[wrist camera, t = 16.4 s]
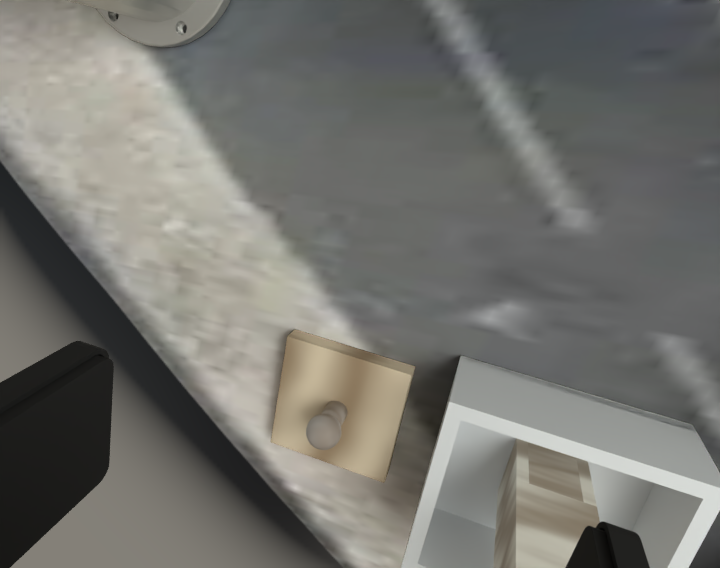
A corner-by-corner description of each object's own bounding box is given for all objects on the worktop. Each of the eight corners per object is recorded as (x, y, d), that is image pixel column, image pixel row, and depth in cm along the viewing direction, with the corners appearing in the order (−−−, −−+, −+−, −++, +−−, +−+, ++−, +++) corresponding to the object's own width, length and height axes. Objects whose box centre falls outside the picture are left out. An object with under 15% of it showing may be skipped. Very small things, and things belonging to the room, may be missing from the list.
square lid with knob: (278, 432, 46) (246, 473, 41) (294, 329, 43) (262, 359, 37) (388, 471, 44) (370, 520, 39) (415, 366, 41) (399, 404, 35)
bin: (418, 503, 44) (400, 568, 38) (460, 355, 39) (449, 401, 33) (619, 575, 41) (637, 661, 34) (692, 424, 36) (730, 491, 30)
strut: (517, 436, 39) (515, 577, 27) (587, 459, 38) (618, 616, 26) (497, 490, 40) (488, 646, 29) (564, 513, 39) (584, 685, 28)
